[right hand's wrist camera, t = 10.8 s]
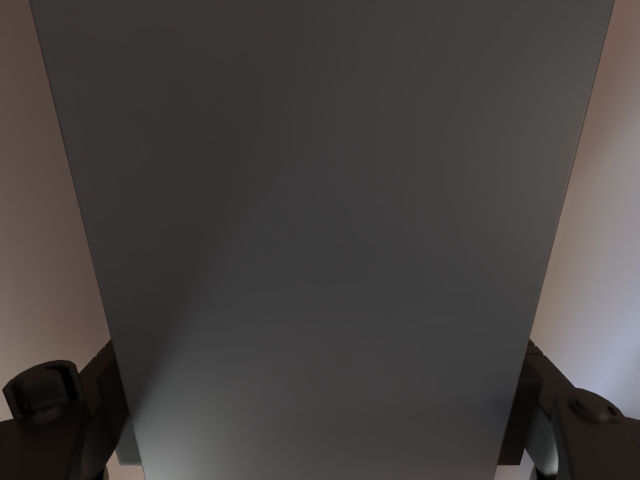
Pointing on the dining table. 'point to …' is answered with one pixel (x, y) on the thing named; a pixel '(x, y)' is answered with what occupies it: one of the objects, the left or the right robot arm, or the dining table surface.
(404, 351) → the long gray bar
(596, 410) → the right robot arm
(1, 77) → the dining table surface
